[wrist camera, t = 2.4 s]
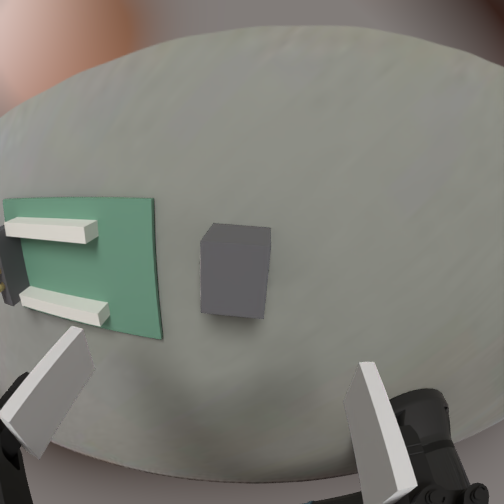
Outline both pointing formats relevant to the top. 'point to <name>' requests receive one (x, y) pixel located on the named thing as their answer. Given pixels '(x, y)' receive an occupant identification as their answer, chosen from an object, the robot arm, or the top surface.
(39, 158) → the top surface
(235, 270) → the plug
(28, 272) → the header board
